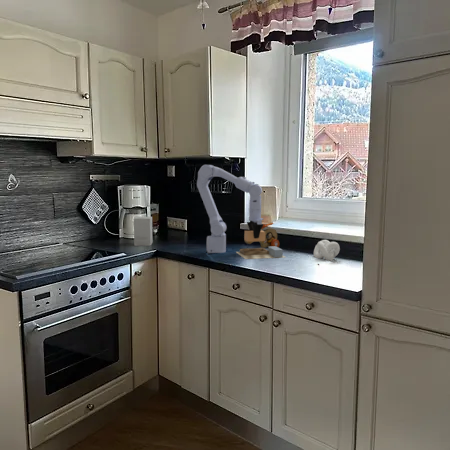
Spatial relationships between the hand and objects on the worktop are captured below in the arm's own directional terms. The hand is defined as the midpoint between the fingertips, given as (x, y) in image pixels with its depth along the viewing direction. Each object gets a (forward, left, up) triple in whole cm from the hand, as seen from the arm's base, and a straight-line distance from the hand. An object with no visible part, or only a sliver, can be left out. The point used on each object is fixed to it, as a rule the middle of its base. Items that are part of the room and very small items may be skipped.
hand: (254, 237), depth 207 cm
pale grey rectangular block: (+8, -7, -8) cm, 13 cm away
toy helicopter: (+10, +16, -9) cm, 21 cm away
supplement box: (-51, +38, -9) cm, 65 cm away
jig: (+2, -4, -9) cm, 10 cm away
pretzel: (+30, -16, -9) cm, 35 cm away
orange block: (0, 0, -2) cm, 2 cm away
